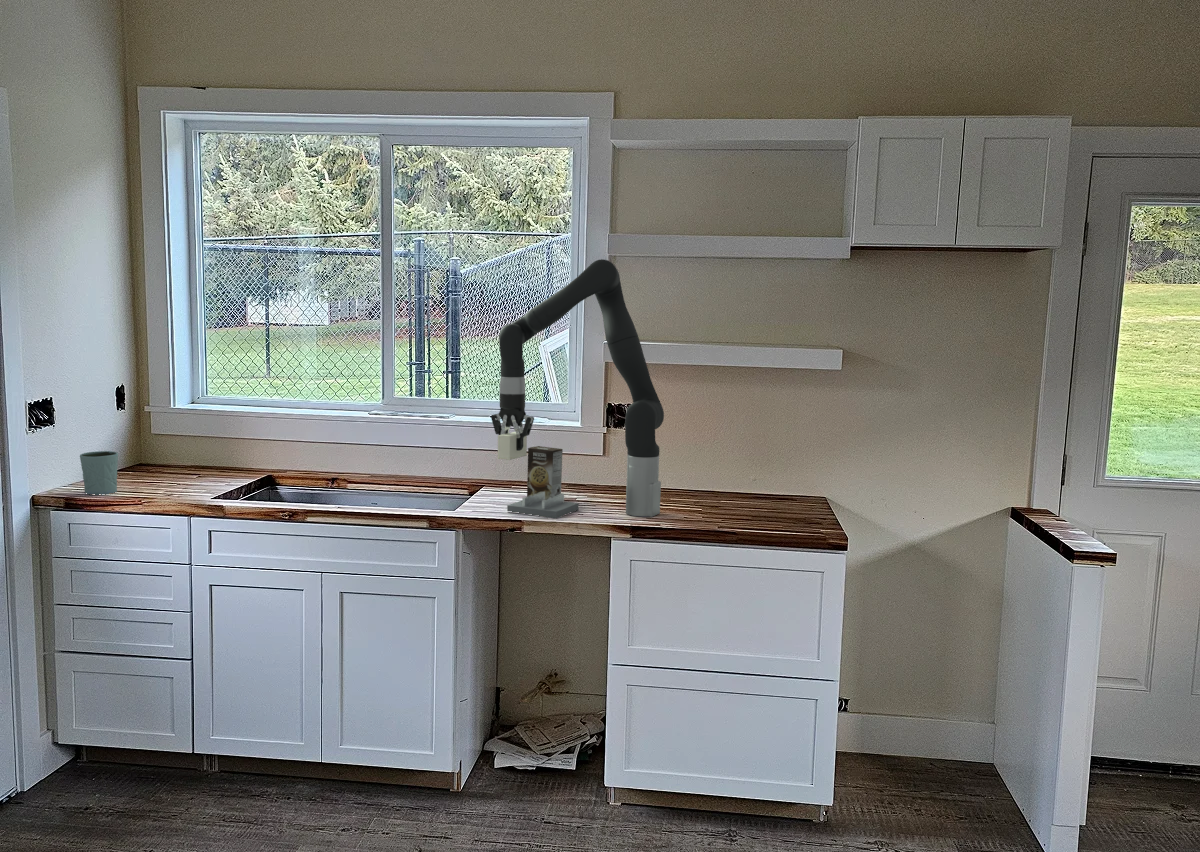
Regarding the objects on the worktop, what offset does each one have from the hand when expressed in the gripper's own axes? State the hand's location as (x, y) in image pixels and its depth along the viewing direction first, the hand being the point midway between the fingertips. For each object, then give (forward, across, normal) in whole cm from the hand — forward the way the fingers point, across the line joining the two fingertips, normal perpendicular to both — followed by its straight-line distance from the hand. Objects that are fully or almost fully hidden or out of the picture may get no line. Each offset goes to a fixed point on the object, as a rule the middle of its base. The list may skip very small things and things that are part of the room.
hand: (512, 449), depth 285 cm
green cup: (+16, +114, +50) cm, 125 cm away
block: (+2, 0, 0) cm, 2 cm away
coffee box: (+17, -4, -13) cm, 22 cm away
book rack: (+17, -12, +2) cm, 21 cm away
